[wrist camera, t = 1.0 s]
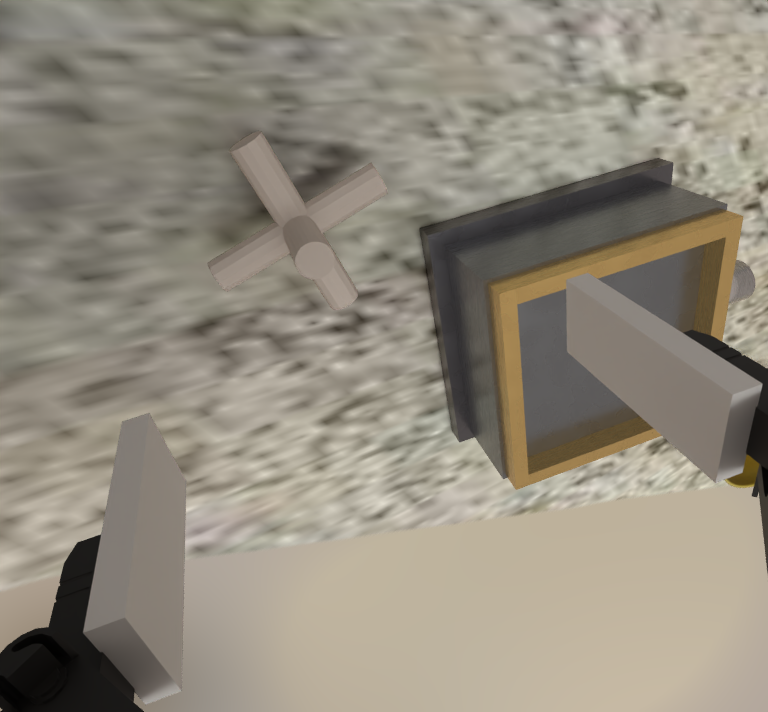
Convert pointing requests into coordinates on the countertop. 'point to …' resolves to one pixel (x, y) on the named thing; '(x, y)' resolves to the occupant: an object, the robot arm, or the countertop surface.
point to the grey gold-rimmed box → (549, 314)
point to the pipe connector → (295, 223)
